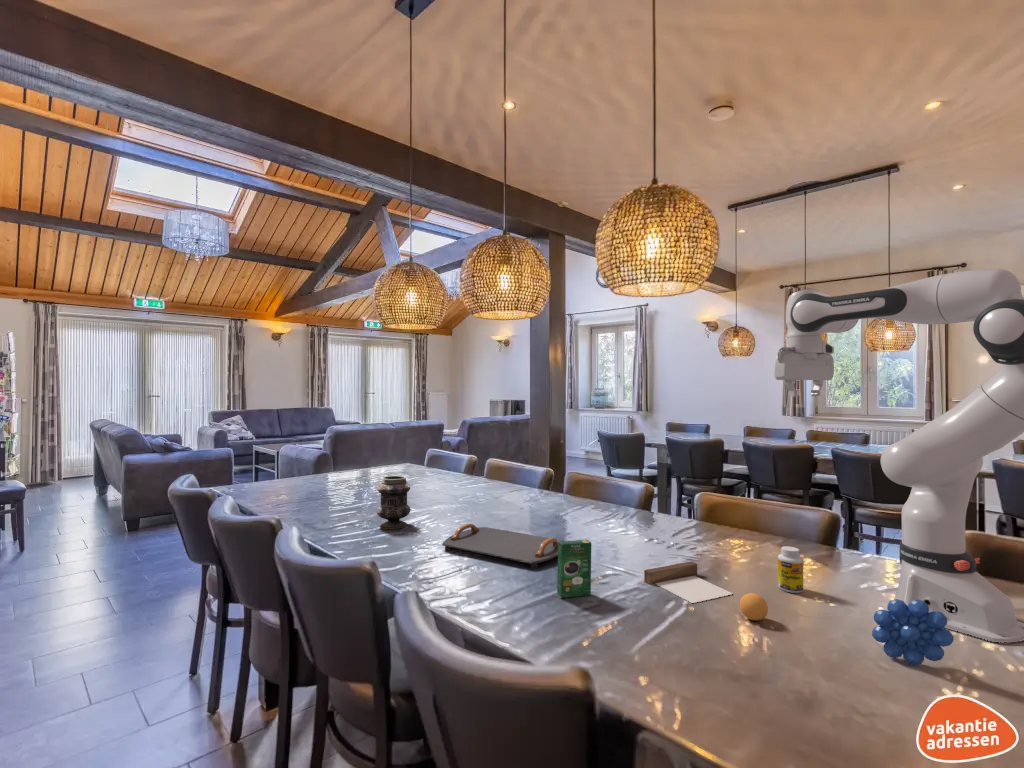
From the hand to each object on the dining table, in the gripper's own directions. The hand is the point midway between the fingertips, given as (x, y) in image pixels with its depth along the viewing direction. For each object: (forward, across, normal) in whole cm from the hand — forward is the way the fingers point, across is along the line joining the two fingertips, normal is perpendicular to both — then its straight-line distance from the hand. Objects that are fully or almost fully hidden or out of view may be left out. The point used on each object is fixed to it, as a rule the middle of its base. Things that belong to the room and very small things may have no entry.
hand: (804, 396), depth 142 cm
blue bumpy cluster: (+48, -29, -42) cm, 70 cm away
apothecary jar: (+48, -99, +90) cm, 142 cm away
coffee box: (+48, -70, +9) cm, 85 cm away
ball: (+45, -41, -18) cm, 64 cm away
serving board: (+49, -72, +48) cm, 99 cm away
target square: (+48, -41, 0) cm, 63 cm away
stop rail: (+48, -41, +8) cm, 64 cm away
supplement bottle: (+48, -19, -10) cm, 53 cm away
